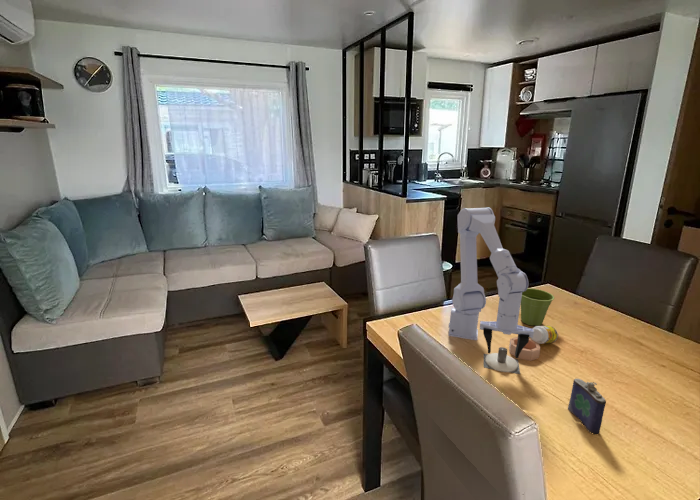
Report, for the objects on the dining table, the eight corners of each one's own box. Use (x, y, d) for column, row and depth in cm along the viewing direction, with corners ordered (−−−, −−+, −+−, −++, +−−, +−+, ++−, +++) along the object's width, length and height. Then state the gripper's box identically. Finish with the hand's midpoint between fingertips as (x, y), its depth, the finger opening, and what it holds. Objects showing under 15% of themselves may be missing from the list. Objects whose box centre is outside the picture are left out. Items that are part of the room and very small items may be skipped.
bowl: (509, 357, 119) (511, 348, 118) (508, 344, 126) (509, 335, 125) (539, 363, 116) (541, 353, 115) (536, 349, 124) (537, 339, 123)
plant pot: (547, 332, 135) (552, 303, 132) (511, 324, 141) (516, 295, 137) (550, 319, 144) (555, 292, 141) (517, 312, 150) (521, 285, 147)
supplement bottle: (555, 345, 126) (540, 347, 120) (539, 338, 131) (524, 339, 124) (561, 330, 126) (546, 330, 119) (544, 322, 130) (530, 323, 123)
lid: (485, 368, 112) (487, 354, 111) (485, 353, 121) (487, 339, 119) (518, 374, 110) (520, 360, 108) (516, 358, 118) (518, 344, 116)
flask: (565, 408, 97) (572, 371, 94) (575, 407, 97) (583, 371, 94) (592, 435, 88) (601, 396, 85) (603, 434, 88) (613, 395, 85)
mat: (483, 368, 113) (483, 367, 113) (483, 354, 120) (483, 353, 120) (520, 375, 110) (520, 374, 110) (517, 360, 117) (518, 359, 117)
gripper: (481, 314, 109) (476, 356, 113) (537, 322, 104) (530, 365, 108) (481, 304, 115) (477, 344, 119) (534, 311, 111) (528, 353, 115)
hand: (502, 354), depth 114 cm, fingers open, 7 cm apart
